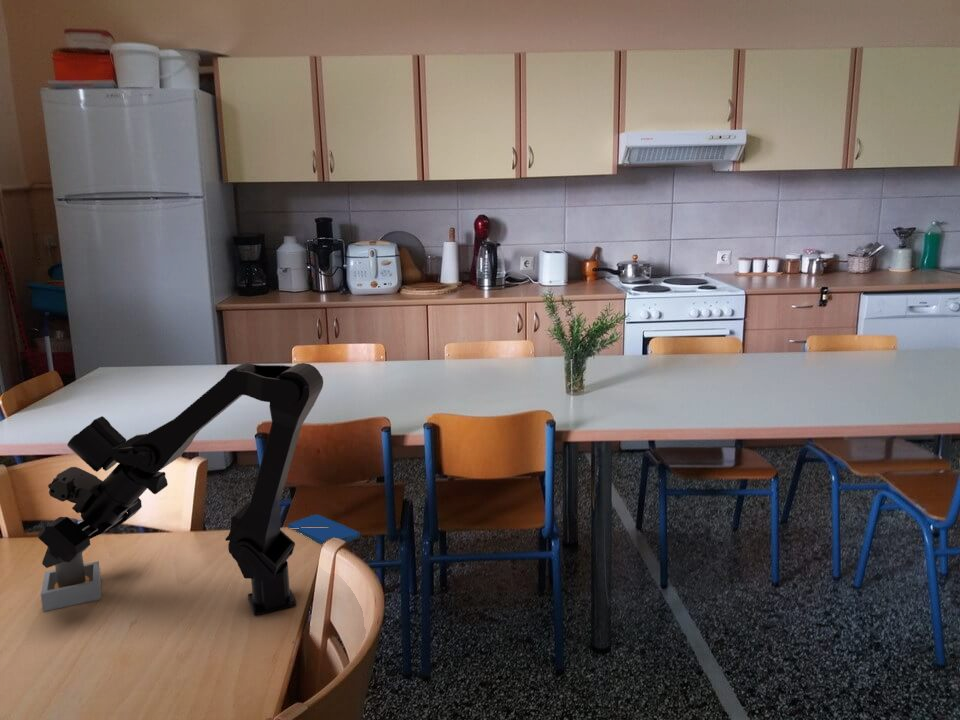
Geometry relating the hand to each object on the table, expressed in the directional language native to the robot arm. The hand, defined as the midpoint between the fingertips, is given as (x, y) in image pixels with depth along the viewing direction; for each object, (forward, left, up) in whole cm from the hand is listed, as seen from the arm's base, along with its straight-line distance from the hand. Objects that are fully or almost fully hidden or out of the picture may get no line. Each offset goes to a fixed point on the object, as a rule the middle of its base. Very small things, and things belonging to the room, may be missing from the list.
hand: (64, 551), depth 119 cm
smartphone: (+4, -43, -8) cm, 44 cm away
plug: (0, -1, -7) cm, 7 cm away
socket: (0, -1, -7) cm, 7 cm away
